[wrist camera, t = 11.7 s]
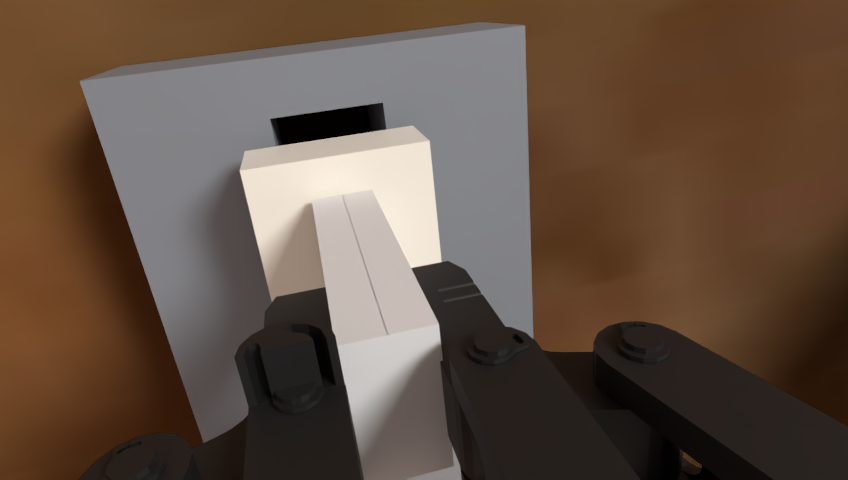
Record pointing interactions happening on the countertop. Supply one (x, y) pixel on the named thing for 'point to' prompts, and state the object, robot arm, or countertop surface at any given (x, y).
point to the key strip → (257, 128)
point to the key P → (329, 176)
